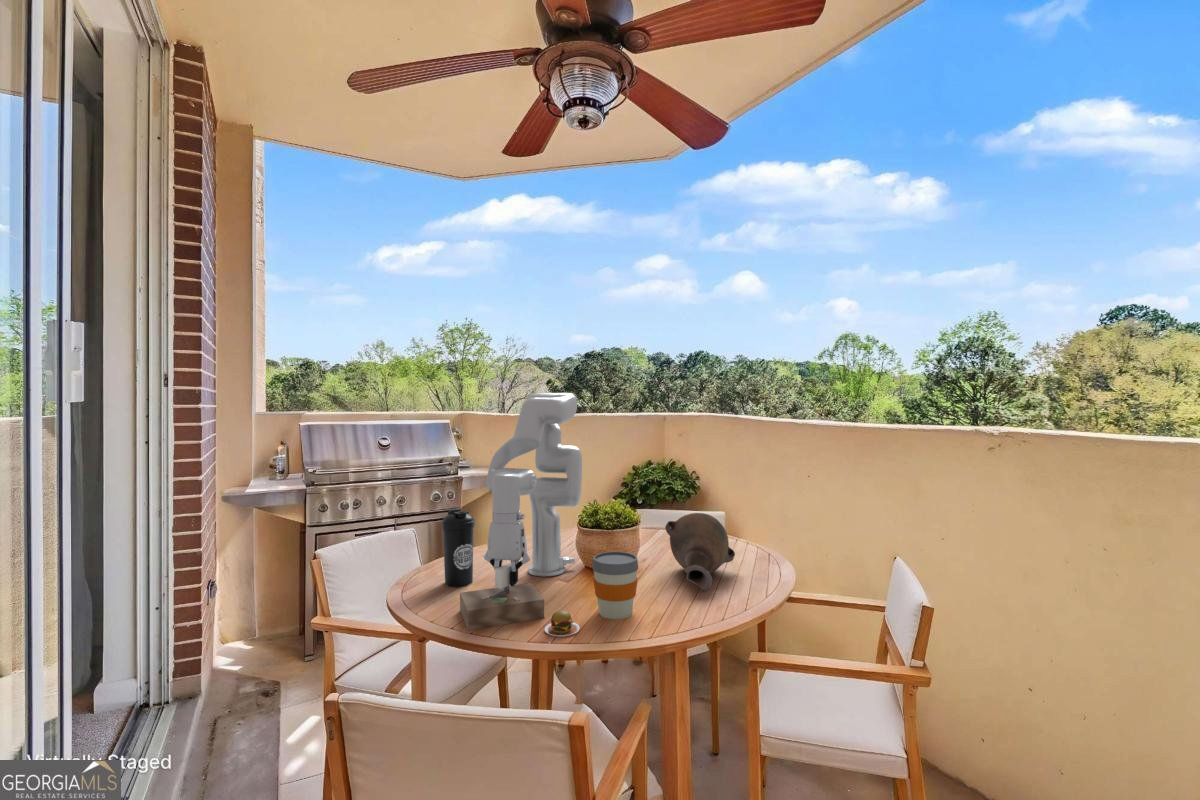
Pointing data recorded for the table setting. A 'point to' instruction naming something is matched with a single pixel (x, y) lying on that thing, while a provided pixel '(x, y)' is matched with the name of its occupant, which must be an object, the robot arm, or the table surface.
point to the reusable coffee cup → (615, 583)
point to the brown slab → (501, 606)
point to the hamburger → (561, 623)
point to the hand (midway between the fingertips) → (507, 583)
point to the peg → (502, 579)
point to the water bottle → (458, 548)
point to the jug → (699, 546)
